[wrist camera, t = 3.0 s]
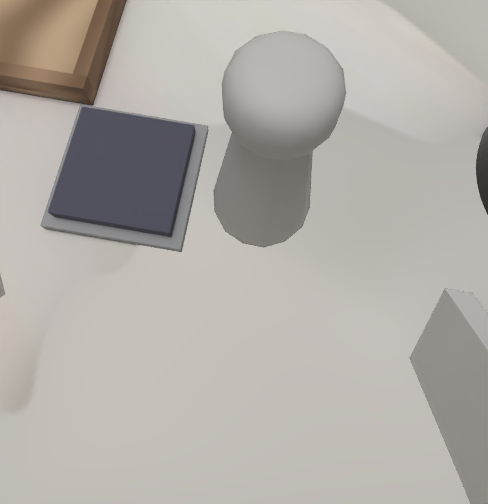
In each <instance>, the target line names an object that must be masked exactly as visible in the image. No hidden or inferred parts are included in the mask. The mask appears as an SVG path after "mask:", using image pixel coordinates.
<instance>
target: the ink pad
mask: <svg viewBox="0 0 488 504" xmlns="http://www.w3.org/2000/svg"><path fill="white" fill-rule="evenodd" d="M207 134H208V126H206V125H200V124H194V123H188V122H182V121H176V120H170V119H164V118H158V117H152V116H146V115H140V114H134V113H128V112H122V111H116V110H111V109H105V108H99V107H93V106H87V105H81V104H80V107H79V110H78V113H77V116H76V119H75V122H74V125H73V128H72V131H71V134H70V137H69V140H68V143H67V146H66V149H65V152H64V155H63V158H62V162H61V165H60V168H59V171H58V174H57V177H56V180H55V183H54V186H53V189H52V192H51V195H50V198H49V201H48V204H47V207H46V210H45V213H44V216H43V219H42V222H41V225H40V226H42V227H44V228H45V229H51V230H57V231H63V232H68V233H74V234H80V235H86V236H92V237H97V238H103V239H109V240H115V241H121V242H126V243H132V244H138V245H144V246H151V247H155V248H162V249H167V250H173V251H179V252H182V248H183V243H184V239H185V234H186V230H187V225H188V220H189V216H190V212H191V207H192V202H193V198H194V193H195V189H196V184H197V180H198V175H199V171H200V166H201V162H202V157H203V153H204V148H205V143H206V139H207Z"/></svg>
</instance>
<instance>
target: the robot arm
mask: <svg viewBox="0 0 488 504" xmlns="http://www.w3.org/2000/svg"><path fill="white" fill-rule="evenodd" d="M476 176H477V184H478V189H479V193H480V197H481V200H482V202H483V205H484V208H485V210H486V212H487V214H488V128H487V129H486V131H485V133H484V135H483V137H482V139H481V142H480V145H479V149H478V153H477V160H476ZM4 294H5V291H4V287H3V283H2V279H1V275H0V298H1V297H2V296H3V295H4ZM410 360H411V363H412V365H413V367H414V370H415V372H416V374H417V377H418V379H419V382H420V384H421V386H422V389H423V391H424V393H425V396H426V398H427V401H428V403H429V406H430V408H431V410H432V413H433V415H434V417H435V420H436V422H437V424H438V427H439V429H440V432H441V434H442V436H443V439H444V441H445V444H446V446H447V448H448V451H449V453H450V455H451V458H452V460H453V463H454V465H455V467H456V470H457V472H458V474H459V477H460V479H461V482H462V484H463V486H464V489H465V491H466V493H467V496H468V498H469V501H470V503H471V504H488V313H487V311H486V310H485V309H484V307H483V306H482V305H481V304H480V302H479V301H478V300H477V298H476V297H475V296H474V295H473V293H471V292H464V291H458V290H452V289H444V291H443V294H442V295H441V297H440V299H439V301H438V303H437V305H436V307H435V309H434V311H433V313H432V315H431V317H430V319H429V321H428V323H427V325H426V327H425V329H424V331H423V333H422V335H421V337H420V339H419V341H418V343H417V345H416V347H415V348H414V350H413V352H412V355H411V357H410Z"/></svg>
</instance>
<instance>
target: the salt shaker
mask: <svg viewBox="0 0 488 504" xmlns="http://www.w3.org/2000/svg"><path fill="white" fill-rule="evenodd" d="M345 95H346V89H345V81H344V73H343V68H342V67H341V66H340V64H339V63H338V62H337V60H336V59H335V57H334V56H333V55H332V53H331V52H330V51H329V49H328V48H326V47H325V46H324V45H322V44H320V43H319V42H317V41H316V40H314V39H312V38H311V37H309V36H307V35H306V34H300V33H294V32H288V31H279V32H274V33H269V34H264V35H259V36H256V37H254V38H253V39H252V40H250V41H249V42H247V43H246V44H245V45H243V46H242V47H240V48H239V49H238V50H236V51H235V53H234V55H233V57H232V59H231V60H230V62H229V64H228V66H227V68H226V70H225V72H224V77H223V81H222V97H223V111H224V118H225V121H226V122H227V124H228V126H229V127H230V129H231V131H232V134H231V137H230V140H229V143H228V147H227V150H226V153H225V156H224V159H223V163H222V166H221V169H220V172H219V176H218V178H217V182H216V185H215V188H214V210H215V213H216V215H217V217H218V218H219V220H220V222H221V224H222V226H223V228H224V230H225V231H226V232H227V233H229V234H230V235H232V236H233V237H235V238H236V239H238V240H239V241H241V242H242V243H245V244H250V245H255V246H260V247H266V246H270V245H274V244H277V243H281V242H284V241H286V240H287V239H288V238H289V237H291V236H292V235H293V234H294V233H295V232H297V231H298V230H299V229H300V228H301V227H302V226H303V223H304V221H305V218H306V215H307V213H308V210H309V206H310V189H311V170H312V169H311V168H312V151H313V150H314V149H315V148H316V147H317V146H319V145H320V144H321V143H323V142H324V141H325V140H326V139H328V138H329V137H330V135H331V133H332V131H333V130H334V128H335V126H336V123H337V121H338V118H339V115H340V113H341V111H342V108H343V105H344V100H345Z"/></svg>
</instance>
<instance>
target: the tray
mask: <svg viewBox="0 0 488 504" xmlns="http://www.w3.org/2000/svg"><path fill="white" fill-rule="evenodd" d="M125 2H126V0H0V90H6V91H12V92H18V93H24V94H30V95H36V96H42V97H48V98H54V99H60V100H66V101H71V102H77V103H83V104H89V105H93V102H94V99H95V96H96V93H97V90H98V87H99V83H100V80H101V77H102V74H103V71H104V68H105V65H106V62H107V58H108V55H109V52H110V49H111V46H112V43H113V40H114V36H115V33H116V30H117V27H118V24H119V21H120V18H121V15H122V11H123V8H124V5H125Z"/></svg>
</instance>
